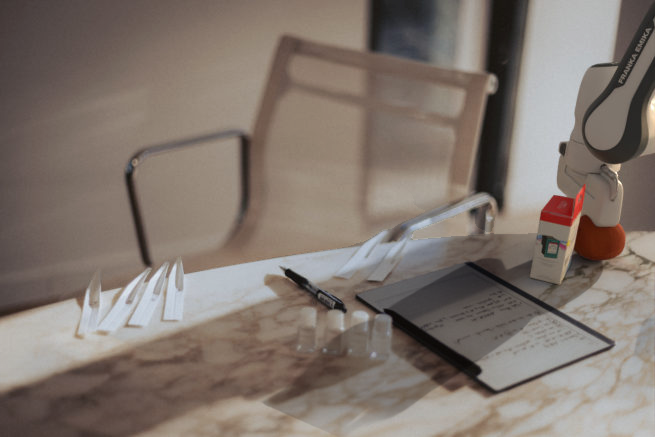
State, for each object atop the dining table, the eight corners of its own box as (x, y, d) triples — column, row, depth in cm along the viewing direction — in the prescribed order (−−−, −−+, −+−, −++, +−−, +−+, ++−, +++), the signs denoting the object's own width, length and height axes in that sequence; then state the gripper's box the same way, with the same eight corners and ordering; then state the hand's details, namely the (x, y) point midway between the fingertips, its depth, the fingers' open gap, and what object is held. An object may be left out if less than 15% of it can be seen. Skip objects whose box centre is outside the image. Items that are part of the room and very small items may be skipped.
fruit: (555, 246, 110) (563, 205, 107) (602, 245, 112) (611, 203, 109) (580, 270, 102) (589, 225, 99) (630, 267, 104) (641, 223, 100)
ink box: (541, 258, 106) (555, 176, 100) (571, 265, 104) (588, 182, 98) (528, 278, 99) (543, 191, 94) (560, 286, 97) (577, 198, 91)
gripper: (640, 176, 98) (622, 255, 103) (589, 141, 117) (576, 209, 122) (600, 175, 98) (584, 255, 103) (556, 140, 116) (544, 208, 122)
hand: (579, 230), depth 113 cm, fingers closed
